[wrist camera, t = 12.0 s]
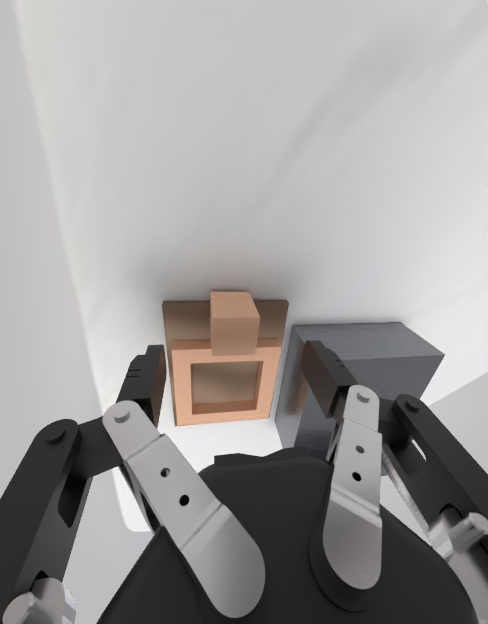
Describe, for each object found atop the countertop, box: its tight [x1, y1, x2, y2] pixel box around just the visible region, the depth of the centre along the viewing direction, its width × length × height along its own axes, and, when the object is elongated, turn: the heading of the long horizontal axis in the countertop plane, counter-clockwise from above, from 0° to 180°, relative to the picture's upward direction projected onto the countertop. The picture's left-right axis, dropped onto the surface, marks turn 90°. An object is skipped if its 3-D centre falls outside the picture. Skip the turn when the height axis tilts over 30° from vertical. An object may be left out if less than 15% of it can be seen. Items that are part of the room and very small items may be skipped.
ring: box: [172, 291, 282, 426], centre depth 20 cm, size 14×9×4 cm, turn 176°
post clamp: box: [275, 322, 445, 543], centre depth 18 cm, size 15×11×19 cm
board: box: [162, 300, 289, 426], centre depth 23 cm, size 14×10×1 cm
